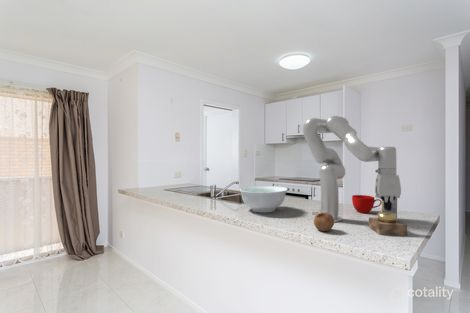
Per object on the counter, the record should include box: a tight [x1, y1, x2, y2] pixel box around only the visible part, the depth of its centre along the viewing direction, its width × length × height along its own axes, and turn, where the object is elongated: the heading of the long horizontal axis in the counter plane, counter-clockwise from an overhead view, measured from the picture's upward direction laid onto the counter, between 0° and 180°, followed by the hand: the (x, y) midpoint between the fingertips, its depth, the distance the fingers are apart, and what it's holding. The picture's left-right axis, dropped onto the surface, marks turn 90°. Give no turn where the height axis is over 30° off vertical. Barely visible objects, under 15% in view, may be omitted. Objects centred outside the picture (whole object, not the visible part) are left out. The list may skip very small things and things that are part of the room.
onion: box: [313, 213, 335, 232], centre depth 124 cm, size 10×9×10 cm
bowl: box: [239, 185, 288, 214], centre depth 169 cm, size 32×32×15 cm
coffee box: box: [381, 196, 398, 220], centre depth 145 cm, size 9×6×16 cm
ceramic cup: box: [351, 194, 382, 214], centre depth 163 cm, size 13×17×10 cm
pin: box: [377, 211, 396, 223], centre depth 123 cm, size 8×8×8 cm
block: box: [368, 217, 408, 237], centre depth 123 cm, size 12×12×5 cm
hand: (387, 210), depth 122 cm, fingers closed
